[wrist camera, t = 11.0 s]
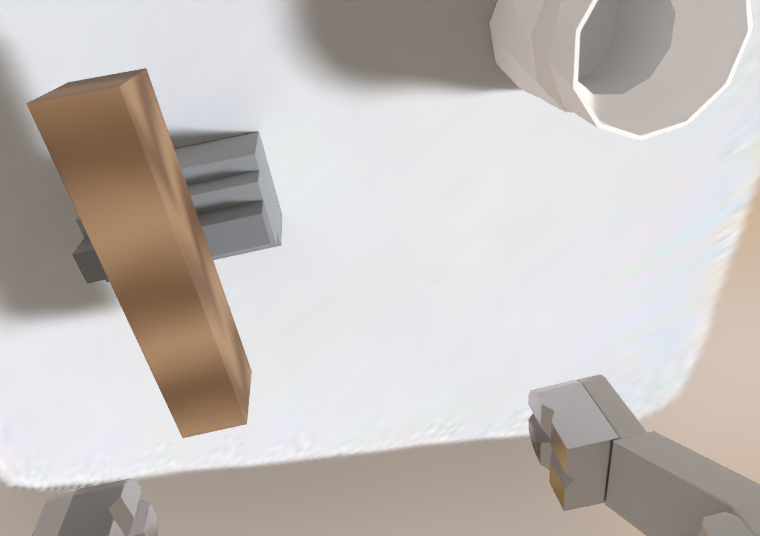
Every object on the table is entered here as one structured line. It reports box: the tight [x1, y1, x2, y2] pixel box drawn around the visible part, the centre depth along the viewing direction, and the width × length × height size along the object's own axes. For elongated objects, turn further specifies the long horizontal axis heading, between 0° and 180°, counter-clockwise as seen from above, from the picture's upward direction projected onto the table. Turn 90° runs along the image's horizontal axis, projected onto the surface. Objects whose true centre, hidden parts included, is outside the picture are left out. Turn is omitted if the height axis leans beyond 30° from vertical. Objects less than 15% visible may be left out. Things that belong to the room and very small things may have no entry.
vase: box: [489, 0, 753, 141], centre depth 30 cm, size 9×9×12 cm
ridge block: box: [73, 132, 282, 283], centre depth 33 cm, size 6×10×9 cm, turn 99°
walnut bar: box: [27, 68, 252, 438], centre depth 27 cm, size 18×4×4 cm, turn 9°
